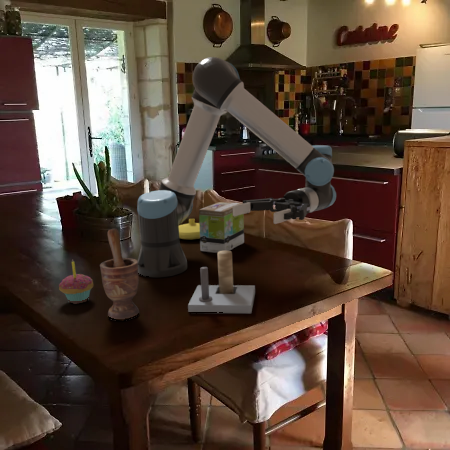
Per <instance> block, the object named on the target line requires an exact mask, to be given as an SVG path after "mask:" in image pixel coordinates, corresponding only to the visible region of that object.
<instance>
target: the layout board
mask: <svg viewBox="0 0 450 450" xmlns="http://www.w3.org/2000/svg"><path fill="white" fill-rule="evenodd" d="M199 269H200V270H199V272H200V284H198V285H197V286H196V288H195V290H194V293H193V294H192V297H191V298H190V300H189V303H188V304H187V309H188V310H187V313H188V312H217V313H216V314H220V313H219V312H223V313H222V314H252V313H253V312H252V311H253V306H254V302H255V295H256V285H246V284H245V285H241V284H240V285H239V284H237V285H234V284H233V290H234V294H219V284H217V285H216V284H214V285H213V284H212V285H211V284H209V283H210V282H209V270H208V269H209V268H208V267H207V266H202V267H200V268H199Z"/></svg>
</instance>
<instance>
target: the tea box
mask: <svg viewBox="0 0 450 450" xmlns="http://www.w3.org/2000/svg"><path fill="white" fill-rule="evenodd" d="M239 204H243V202H242V203H241V202H240V203H239V202H226V201H218V202H216V203H213V204H210V205H208V206H205V207H203V208H202V207H201V208H200V209H198V215H199V217H198V218H199V219H198V220H199V221H198V223H200V239H199V247H200V251H201V252H207V253H215V254H217V253H218V252H219V251H231V250H234V248H237V247H238V246H240V245H243V244H244V243H245V232H244V231H245V223H244V222H245V217H244V215H245V214H241V215H237V216H233V206H235V205H239Z"/></svg>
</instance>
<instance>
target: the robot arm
mask: <svg viewBox="0 0 450 450" xmlns="http://www.w3.org/2000/svg"><path fill="white" fill-rule="evenodd" d="M191 79H192V84H193V87H194V90H193V93H192V96H191V100H192V102H193V107H192V111H191V114H190V116H189V119H188V122H187V125H186V127H185V130H184V133H183V136H182V139H181V141H180V143H179V146H178V150H177V152H176V155H175V158H174V159H173V163H172V165H171V168H170V172H169V173H168V174H169V175H168V176H167V177H165V178H163V179H161V181H160V185H159V187H158V190H151V191H149V192H145V193H143V194H141V195H139V197H138V199H137V205H136V207H137V208H136V211H137V215H138V216H137V217H138V226H139V238H140V249H139V255H138V258H137V261H138V273H139V274H138V275H140V274H141V275H140V276H142V275H143V276H142V277H146V276H149V277H148V278H169V277H173V276H176V275H179V274H182V273H184V272H185V271H186V270H187V269H188V261H187V258H186V255H185V253H184V250H183V247H182V246H181V245H182V244H181V242H180V239H181V238H179V225H181V224H182V223H183V222H185V221H186V220H187V219H188V218H189V216H190V215H191V213H192V211H193V207H194V199H195V197H196V194H197V190H196V188H195V184H196V182H197V178H198V175H199V173H200V170H201V168H202V165H203V163H204V160H205V158H206V155H207V152H208V149H209V148H210V147H209V146H210V144H211V142H212V139H213V137H214V134H215V131H216V128H217V127H218V126H217V125H218V124H219V122H220V119H221V116H223V115H225V114H226V113H229V114H230V115H232V117H234V118H235V119H236V120H238V121H239V123H241V125H244V126H245V127H246V128H247V129H248V130H249V131H250V132H251V133H253V134H254V135H255V136H256V137H257V138H259V139H260V140H261V141H263V142H264V143H265V144H267V146H268V147H270V148H271V149H272V150H273V151H274V152H276V153H277V154H278V155H279V156H281V157H282V158H283V159H284V160H285V161H286V162H287V163H289V164H290V165H291V166H292V167H294V169H296V170H297V171H298V172H299V173H300V174H302V175H303V176H304V177H305V185H304V186H305V187H303V188H302V187H301V188H298V189H295V190H291V191H287V192H286V193H285V194H284V195H283V196H282V197H280V198H273V197H269V198H260V199H249V200H247V199H246V200H242V203H243V204H239V205H235V206H233V216H237V215H241V214H244V215H245V214H247V215H248V214H249V213H251V212H257V211H258V212H259V211H260V212H261V211H262V212H263V211H270V212H271V213H273V224H275V225H276V224H280V223H283V222H287V221H290V220H297V219H298V220H299V221H304V219H305V217H306V216H307V215H308V214H309V213H314V212H316V211H321V210H325V209H327V208H329V207H330V206H332V205H333V204H334V203H335V201H336V199H337V192H336V190H335V189H336V188H335V187H334V186H333V185H332V182H331V180H332V179H333V177H334V173H335V167H334V165H333V162H332V161H333V160H332V159H333V148H332V147H331V146H330V145H323V144H322V145H321V144H320V145H312V144H311V143H309V142H308V141H307V140H305V138H303V137H302V136H301V135H300V134H299V133H298V132H297V131H295V130H294V129H292V127H290V126H289V125H288V124H287V123H286V122H285V121H283V120H282V119H281V118H280V117H278V116H277V115H276V114H275V113H274V112H273V111H272V110H270V109H269V108H268V107H267V106H266V105H264V104H263V103H262V102H261V101H259V99H257V98H256V97H255V96H254V95H253V94H251V93H250V92H249V91H248V90H247V89H245V85H244V82H243V81H242V79H240V75H239V72H238V70H237V68H236V67H235V66H234V65H233V64H232V63H231V62H229V61H227V60H224V59H222V58H219V57H217V56H216V57H214V56H210V57H206V58H203V59H202V60H200V61H199V62H198V64H197V65H196V66H195V67H194V70H193V71H192V78H191Z"/></svg>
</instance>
